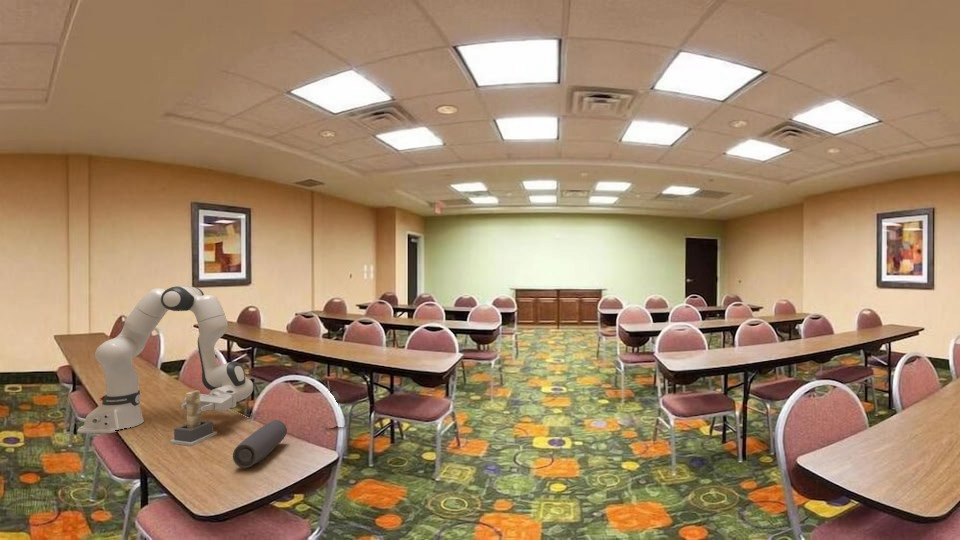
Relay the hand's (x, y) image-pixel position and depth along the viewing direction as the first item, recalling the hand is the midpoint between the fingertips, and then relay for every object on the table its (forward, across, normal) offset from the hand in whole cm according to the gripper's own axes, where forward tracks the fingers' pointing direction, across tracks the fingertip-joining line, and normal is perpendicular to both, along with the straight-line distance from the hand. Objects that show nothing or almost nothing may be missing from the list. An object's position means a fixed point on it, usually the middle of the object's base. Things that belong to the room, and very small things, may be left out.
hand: (191, 408), depth 179 cm
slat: (-1, 0, +12) cm, 12 cm away
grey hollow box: (-1, 0, +13) cm, 13 cm away
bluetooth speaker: (+6, +39, +13) cm, 41 cm away
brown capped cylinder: (-26, +47, +13) cm, 55 cm away
